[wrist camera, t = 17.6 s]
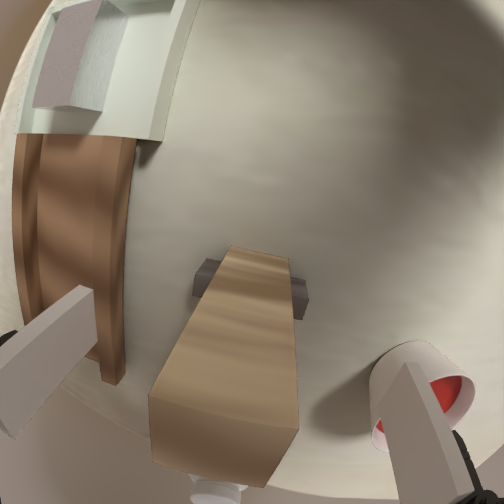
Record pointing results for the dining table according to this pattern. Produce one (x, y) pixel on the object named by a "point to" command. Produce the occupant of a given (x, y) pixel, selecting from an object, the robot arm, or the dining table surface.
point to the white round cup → (437, 373)
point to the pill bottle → (214, 491)
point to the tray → (120, 74)
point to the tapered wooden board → (232, 373)
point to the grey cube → (89, 28)
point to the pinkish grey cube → (73, 81)
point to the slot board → (73, 229)
